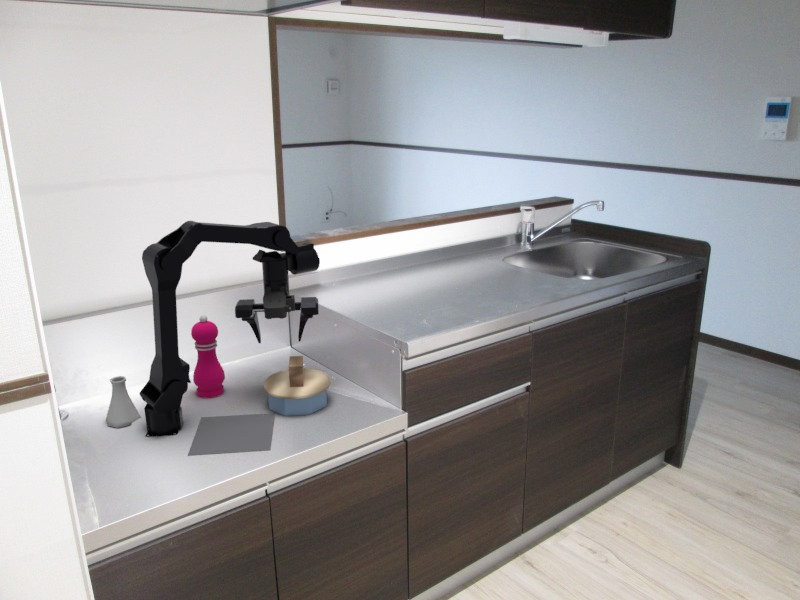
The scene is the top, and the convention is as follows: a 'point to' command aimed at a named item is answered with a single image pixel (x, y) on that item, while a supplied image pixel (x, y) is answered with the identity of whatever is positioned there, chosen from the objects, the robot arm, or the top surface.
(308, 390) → the lid
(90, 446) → the top surface
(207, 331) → the pepper mill
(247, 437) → the mat
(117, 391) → the flask
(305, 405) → the bowl
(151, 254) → the robot arm
